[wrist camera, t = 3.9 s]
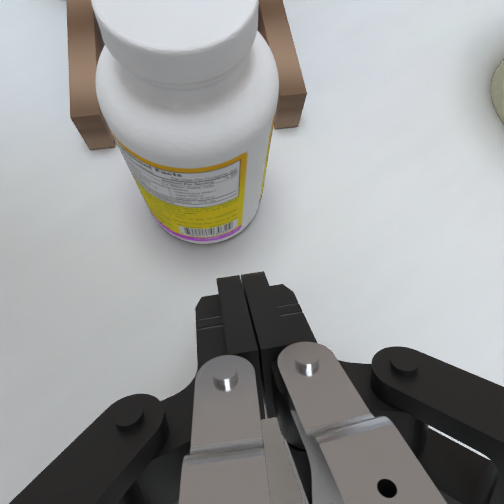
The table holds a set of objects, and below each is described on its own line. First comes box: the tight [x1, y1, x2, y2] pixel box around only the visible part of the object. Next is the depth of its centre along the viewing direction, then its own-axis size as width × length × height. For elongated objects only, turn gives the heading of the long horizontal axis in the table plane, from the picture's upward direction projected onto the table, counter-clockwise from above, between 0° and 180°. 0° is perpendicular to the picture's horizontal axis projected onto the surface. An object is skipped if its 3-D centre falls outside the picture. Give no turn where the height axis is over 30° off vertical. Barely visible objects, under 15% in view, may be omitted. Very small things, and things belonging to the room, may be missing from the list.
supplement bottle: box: [91, 0, 279, 244], centre depth 17 cm, size 7×7×13 cm
